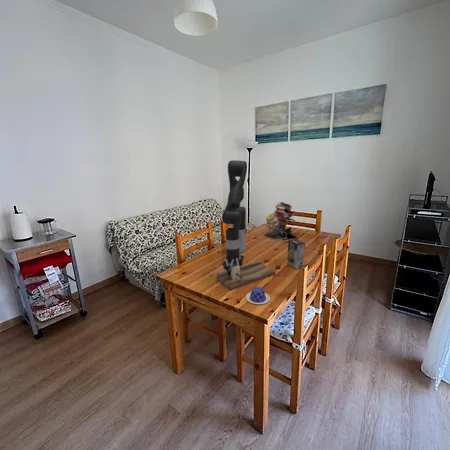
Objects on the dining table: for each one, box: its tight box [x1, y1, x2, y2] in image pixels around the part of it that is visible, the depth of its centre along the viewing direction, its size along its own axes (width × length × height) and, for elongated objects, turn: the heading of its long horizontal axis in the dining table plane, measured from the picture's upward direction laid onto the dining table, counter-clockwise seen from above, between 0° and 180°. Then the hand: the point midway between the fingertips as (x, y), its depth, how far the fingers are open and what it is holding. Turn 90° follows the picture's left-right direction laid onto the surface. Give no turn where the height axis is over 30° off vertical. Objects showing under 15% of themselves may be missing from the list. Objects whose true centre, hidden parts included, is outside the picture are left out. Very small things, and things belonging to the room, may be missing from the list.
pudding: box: [245, 286, 271, 305], centre depth 123 cm, size 12×12×5 cm
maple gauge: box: [225, 263, 243, 280], centre depth 139 cm, size 12×5×7 cm, turn 32°
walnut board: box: [216, 260, 277, 291], centre depth 145 cm, size 14×32×4 cm, turn 122°
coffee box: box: [286, 239, 306, 269], centre depth 157 cm, size 9×6×16 cm
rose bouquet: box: [264, 201, 299, 241], centre depth 213 cm, size 26×29×30 cm
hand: (233, 274), depth 141 cm, fingers closed on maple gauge, 4 cm apart
